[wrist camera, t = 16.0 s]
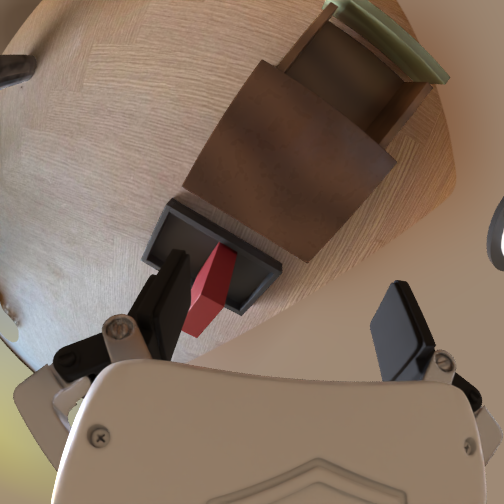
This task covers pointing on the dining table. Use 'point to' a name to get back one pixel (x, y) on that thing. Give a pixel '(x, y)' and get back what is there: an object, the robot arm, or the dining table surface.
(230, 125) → the cabinet
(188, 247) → the tray
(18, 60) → the beverage cup
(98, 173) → the dining table surface
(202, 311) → the red rectangular block
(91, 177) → the dining table surface
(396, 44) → the drawer
